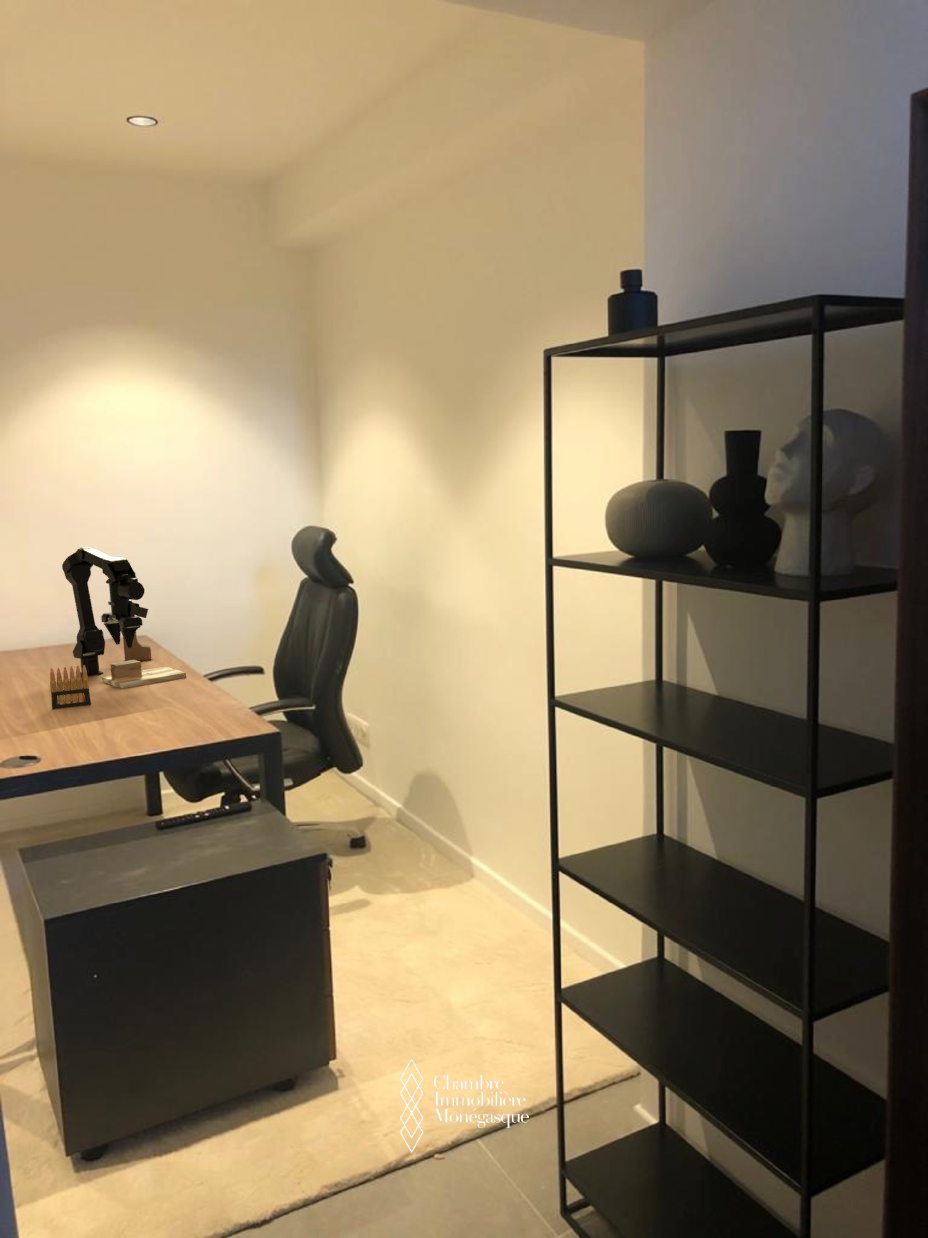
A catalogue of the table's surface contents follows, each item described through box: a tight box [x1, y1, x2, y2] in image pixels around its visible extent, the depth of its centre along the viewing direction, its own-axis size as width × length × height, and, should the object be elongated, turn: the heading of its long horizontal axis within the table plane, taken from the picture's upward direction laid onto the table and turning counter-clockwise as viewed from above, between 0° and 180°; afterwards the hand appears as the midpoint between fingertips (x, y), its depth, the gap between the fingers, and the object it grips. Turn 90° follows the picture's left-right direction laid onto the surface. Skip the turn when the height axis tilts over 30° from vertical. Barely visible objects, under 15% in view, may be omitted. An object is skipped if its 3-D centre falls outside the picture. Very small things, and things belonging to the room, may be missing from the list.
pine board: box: [101, 666, 187, 689], centre depth 332 cm, size 15×22×2 cm
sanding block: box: [109, 660, 142, 681], centre depth 328 cm, size 5×8×5 cm, turn 131°
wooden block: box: [122, 615, 152, 662], centre depth 365 cm, size 9×4×18 cm, turn 110°
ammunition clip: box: [49, 665, 92, 711], centre depth 296 cm, size 11×2×12 cm, turn 113°
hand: (123, 646), depth 327 cm, fingers open, 9 cm apart
